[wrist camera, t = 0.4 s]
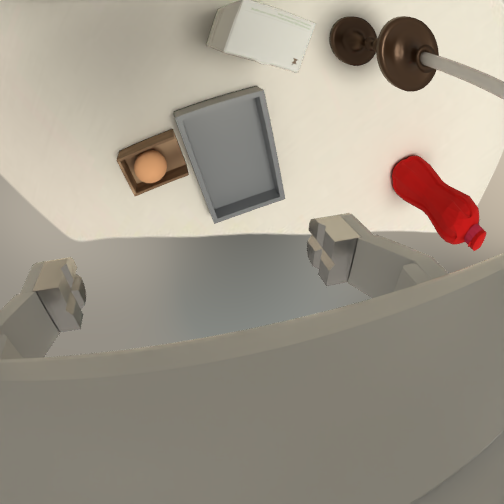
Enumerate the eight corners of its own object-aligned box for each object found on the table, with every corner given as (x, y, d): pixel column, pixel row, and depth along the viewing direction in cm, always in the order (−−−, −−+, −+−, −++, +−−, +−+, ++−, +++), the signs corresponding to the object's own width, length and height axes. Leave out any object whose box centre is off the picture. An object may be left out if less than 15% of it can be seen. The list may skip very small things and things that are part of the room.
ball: (129, 153, 42) (128, 166, 38) (159, 140, 42) (160, 152, 38) (141, 179, 45) (141, 194, 42) (170, 167, 45) (172, 181, 42)
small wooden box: (119, 151, 41) (116, 160, 39) (172, 128, 42) (173, 136, 39) (135, 185, 46) (135, 196, 44) (186, 165, 47) (188, 175, 44)
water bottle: (424, 178, 63) (494, 243, 46) (391, 195, 64) (460, 269, 46) (424, 147, 57) (504, 211, 39) (388, 163, 57) (470, 237, 40)
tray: (173, 111, 40) (174, 117, 37) (256, 85, 41) (263, 90, 38) (211, 212, 54) (214, 223, 52) (278, 188, 55) (285, 198, 52)
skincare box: (270, 22, 34) (321, 23, 23) (256, 60, 38) (301, 76, 27) (215, 7, 31) (244, -6, 20) (202, 47, 34) (223, 54, 23)
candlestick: (387, 46, 39) (567, 127, 15) (349, 81, 43) (528, 187, 19) (354, 0, 33) (562, 45, 8) (311, 35, 36) (523, 104, 12)
